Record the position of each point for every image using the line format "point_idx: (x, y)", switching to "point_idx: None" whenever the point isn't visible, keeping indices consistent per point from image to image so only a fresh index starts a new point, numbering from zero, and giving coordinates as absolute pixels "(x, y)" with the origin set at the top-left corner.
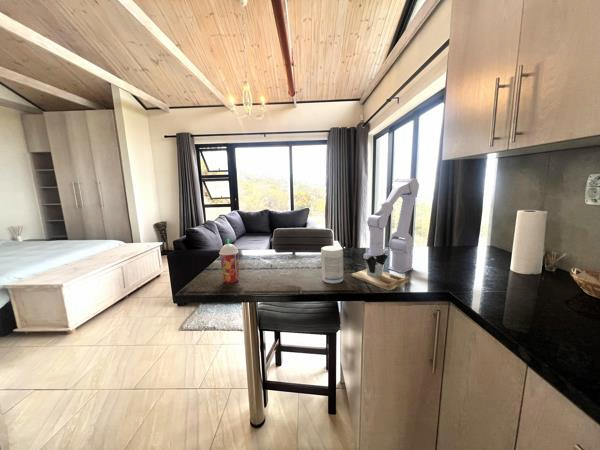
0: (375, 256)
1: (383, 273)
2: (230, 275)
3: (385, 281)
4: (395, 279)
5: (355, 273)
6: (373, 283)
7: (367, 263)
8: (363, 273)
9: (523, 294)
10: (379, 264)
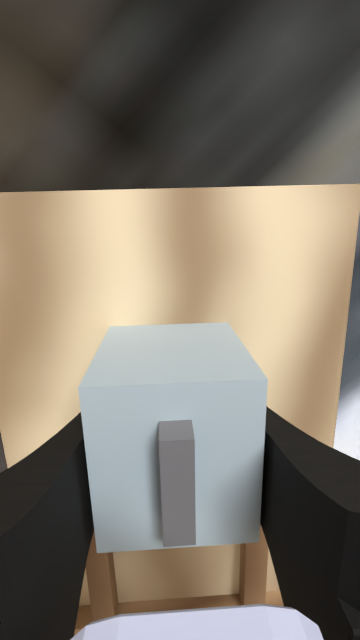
0: (326, 499)
1: (281, 409)
2: None
3: (89, 574)
4: (232, 552)
5: (8, 220)
6: None
7: (4, 475)
8: (97, 282)
9: None
10: (229, 515)
